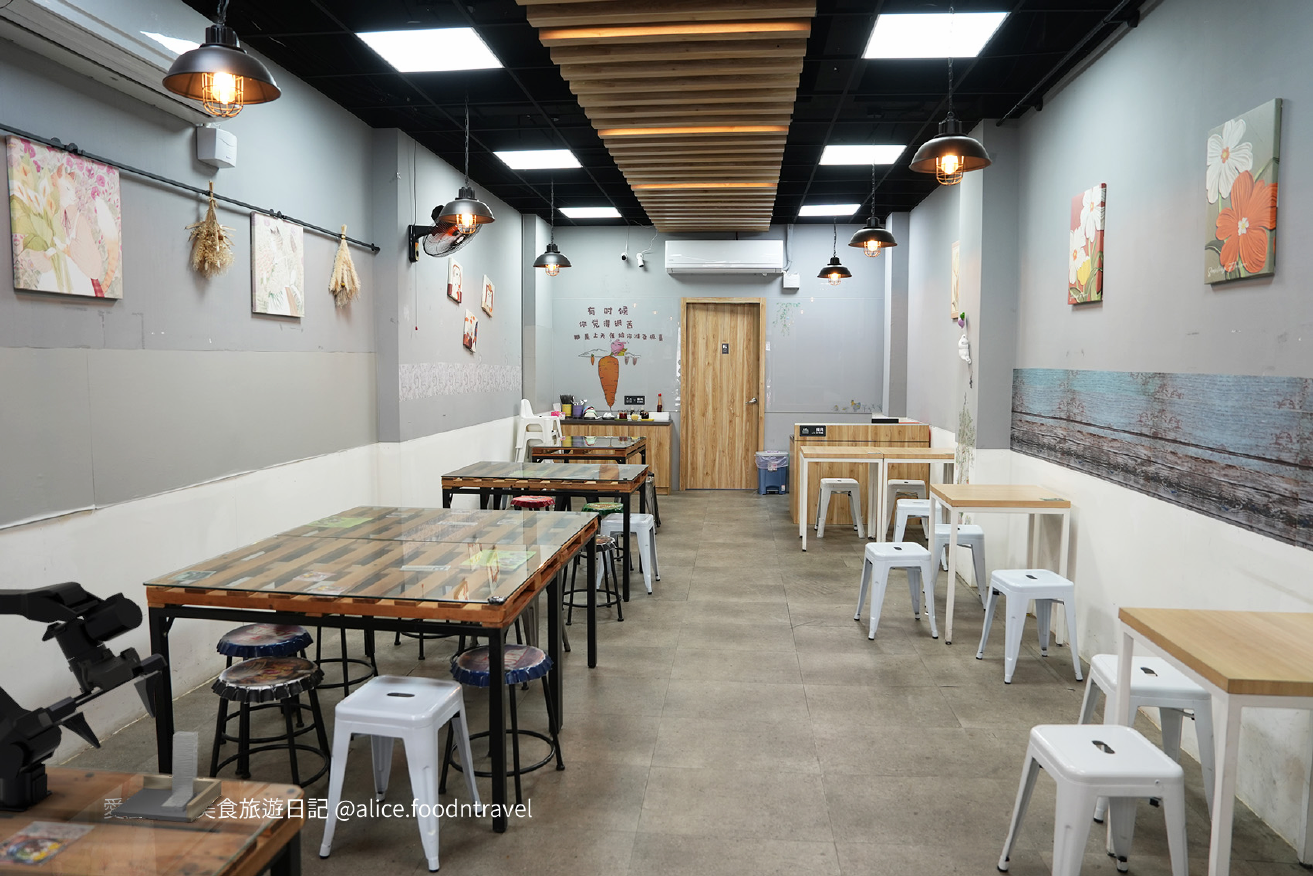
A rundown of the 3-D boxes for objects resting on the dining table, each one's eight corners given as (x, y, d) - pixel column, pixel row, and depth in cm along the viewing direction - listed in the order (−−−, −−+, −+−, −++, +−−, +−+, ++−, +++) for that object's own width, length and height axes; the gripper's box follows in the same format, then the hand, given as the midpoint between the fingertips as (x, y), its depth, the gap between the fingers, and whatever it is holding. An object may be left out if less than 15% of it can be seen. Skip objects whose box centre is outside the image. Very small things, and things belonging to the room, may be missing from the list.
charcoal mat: (111, 816, 140) (111, 811, 140) (146, 790, 149) (146, 785, 149) (191, 822, 140) (191, 817, 140) (221, 796, 149) (221, 791, 149)
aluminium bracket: (196, 797, 146) (197, 732, 146) (182, 812, 141) (183, 744, 141) (176, 797, 146) (177, 731, 145) (161, 811, 141) (162, 743, 140)
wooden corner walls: (111, 816, 140) (111, 799, 140) (146, 790, 149) (146, 774, 149) (191, 822, 140) (191, 805, 140) (221, 796, 149) (221, 780, 149)
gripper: (39, 672, 129) (84, 760, 130) (158, 618, 144) (198, 697, 145) (19, 683, 136) (62, 766, 136) (135, 629, 151) (173, 705, 151)
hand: (127, 732), depth 142 cm, fingers open, 9 cm apart
